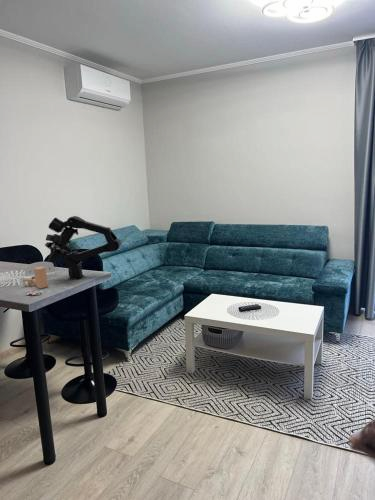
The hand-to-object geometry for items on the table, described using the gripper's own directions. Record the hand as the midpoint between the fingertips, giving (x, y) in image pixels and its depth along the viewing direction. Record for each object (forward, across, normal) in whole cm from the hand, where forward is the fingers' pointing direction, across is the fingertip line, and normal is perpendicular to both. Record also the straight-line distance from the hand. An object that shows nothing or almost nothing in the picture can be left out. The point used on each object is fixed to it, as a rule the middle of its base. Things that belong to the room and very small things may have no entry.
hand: (49, 261), depth 192 cm
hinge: (+6, -21, +12) cm, 25 cm away
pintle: (+13, -9, +4) cm, 16 cm away
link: (+13, -4, +4) cm, 14 cm away
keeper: (+16, -9, +2) cm, 18 cm away
